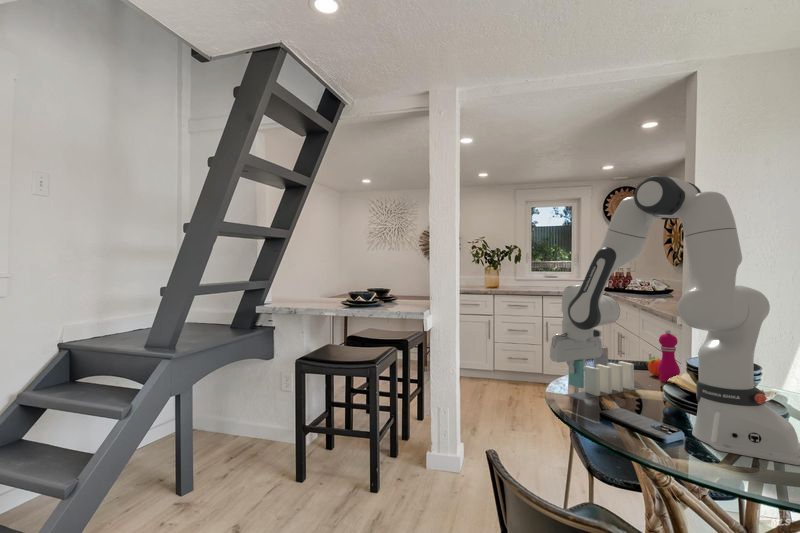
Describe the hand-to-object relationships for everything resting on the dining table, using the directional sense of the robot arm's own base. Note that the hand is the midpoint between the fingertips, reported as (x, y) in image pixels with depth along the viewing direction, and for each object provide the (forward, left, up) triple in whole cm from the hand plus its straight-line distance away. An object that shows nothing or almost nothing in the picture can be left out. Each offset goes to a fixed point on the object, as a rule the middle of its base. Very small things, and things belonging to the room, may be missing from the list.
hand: (576, 372), depth 141 cm
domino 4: (-7, -17, -8) cm, 20 cm away
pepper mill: (-18, -43, -9) cm, 47 cm away
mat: (-5, -11, -8) cm, 14 cm away
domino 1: (0, 0, -5) cm, 5 cm away
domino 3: (-5, -11, -8) cm, 15 cm away
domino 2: (-3, -6, -8) cm, 11 cm away
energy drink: (+4, -35, -9) cm, 36 cm away
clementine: (-12, -49, -9) cm, 51 cm away
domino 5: (-9, -22, -8) cm, 25 cm away
